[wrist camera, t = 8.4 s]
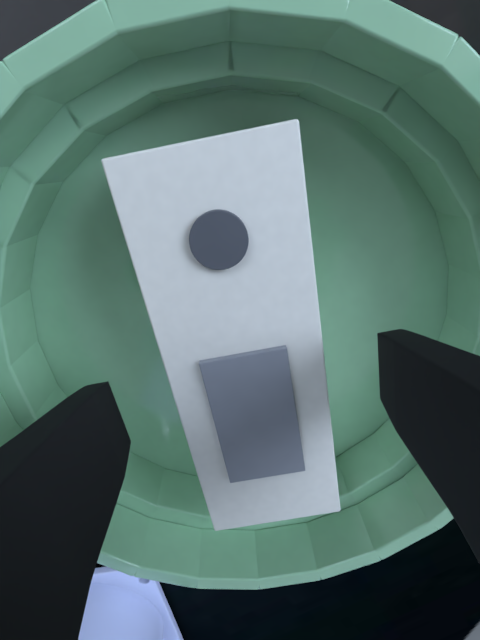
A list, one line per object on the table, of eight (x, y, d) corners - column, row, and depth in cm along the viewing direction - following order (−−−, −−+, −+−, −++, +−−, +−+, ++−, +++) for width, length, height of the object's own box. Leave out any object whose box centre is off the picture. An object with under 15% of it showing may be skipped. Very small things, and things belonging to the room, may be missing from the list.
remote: (318, 442, 16) (342, 517, 12) (216, 459, 16) (214, 537, 13) (278, 131, 11) (301, 116, 8) (135, 160, 11) (96, 158, 8)
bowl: (459, 455, 17) (534, 549, 13) (98, 513, 18) (59, 620, 14) (490, -14, 10) (668, -134, 6) (-93, 112, 11) (-287, 80, 7)
